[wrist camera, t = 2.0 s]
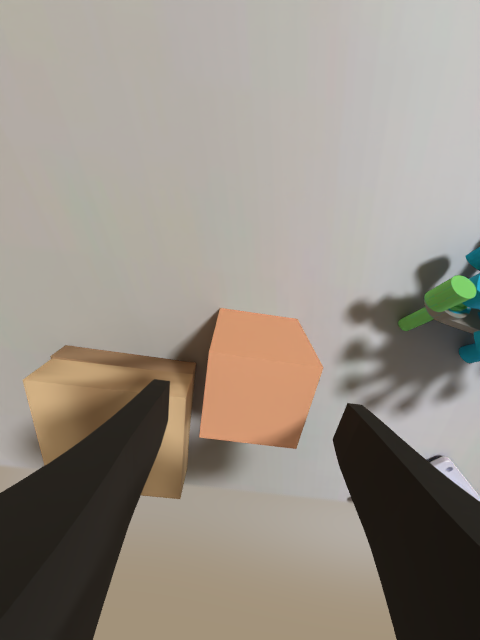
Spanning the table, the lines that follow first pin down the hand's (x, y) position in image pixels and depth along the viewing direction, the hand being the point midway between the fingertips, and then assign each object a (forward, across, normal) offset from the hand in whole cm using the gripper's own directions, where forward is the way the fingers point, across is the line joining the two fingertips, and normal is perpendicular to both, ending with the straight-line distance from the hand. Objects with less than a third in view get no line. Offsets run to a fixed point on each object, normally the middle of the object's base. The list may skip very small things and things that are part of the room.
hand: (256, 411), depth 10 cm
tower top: (+4, +7, +6) cm, 10 cm away
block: (+5, 0, 0) cm, 5 cm away
